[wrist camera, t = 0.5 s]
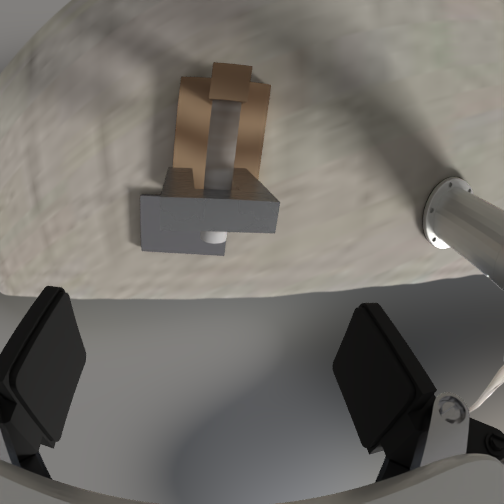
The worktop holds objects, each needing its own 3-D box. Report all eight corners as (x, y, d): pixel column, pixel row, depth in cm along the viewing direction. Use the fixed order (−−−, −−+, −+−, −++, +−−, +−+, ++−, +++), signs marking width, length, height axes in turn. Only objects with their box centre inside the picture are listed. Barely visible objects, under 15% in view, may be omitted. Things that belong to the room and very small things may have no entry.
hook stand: (182, 77, 28) (154, 49, 14) (269, 85, 30) (312, 65, 16) (172, 192, 34) (144, 251, 20) (254, 197, 36) (280, 259, 22)
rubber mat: (229, 199, 36) (229, 200, 35) (224, 253, 39) (224, 255, 38) (141, 194, 34) (140, 195, 33) (142, 248, 37) (141, 250, 37)
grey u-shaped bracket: (246, 168, 28) (280, 202, 19) (243, 189, 29) (274, 233, 20) (169, 164, 27) (160, 197, 17) (168, 186, 28) (159, 230, 18)
